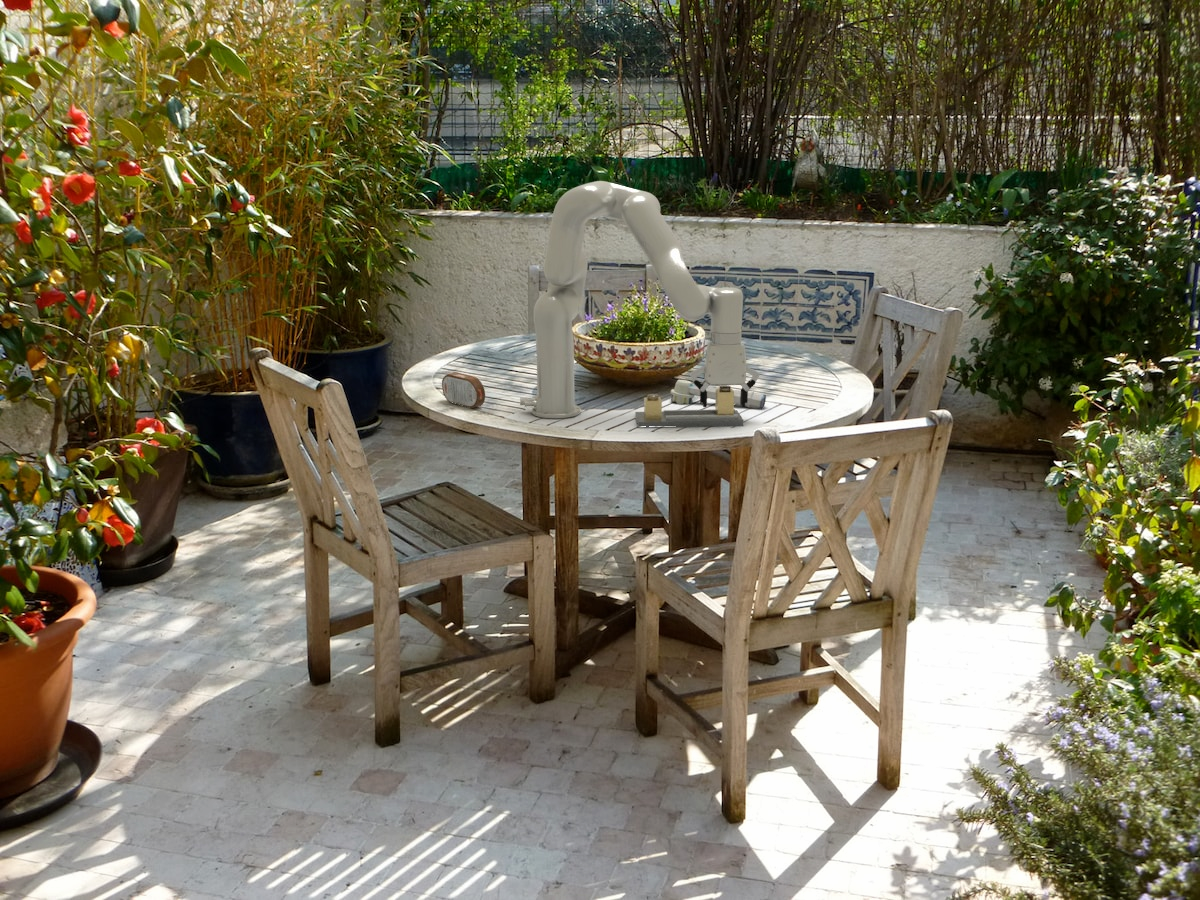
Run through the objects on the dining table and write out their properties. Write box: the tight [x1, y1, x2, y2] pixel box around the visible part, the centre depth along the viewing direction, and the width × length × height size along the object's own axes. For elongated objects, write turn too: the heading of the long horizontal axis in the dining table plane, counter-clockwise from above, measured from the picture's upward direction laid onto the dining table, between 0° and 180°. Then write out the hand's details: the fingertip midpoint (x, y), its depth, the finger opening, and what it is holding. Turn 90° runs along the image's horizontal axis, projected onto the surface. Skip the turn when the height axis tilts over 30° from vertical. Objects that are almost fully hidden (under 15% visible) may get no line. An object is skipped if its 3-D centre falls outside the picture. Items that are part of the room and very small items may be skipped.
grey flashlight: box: [670, 379, 767, 409], centre depth 312 cm, size 5×7×25 cm
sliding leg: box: [714, 385, 735, 415], centre depth 294 cm, size 4×4×7 cm
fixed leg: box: [643, 393, 663, 419], centre depth 294 cm, size 4×4×6 cm
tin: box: [441, 371, 486, 409], centre depth 312 cm, size 15×3×8 cm, turn 47°
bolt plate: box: [634, 408, 745, 428], centre depth 295 cm, size 26×10×2 cm, turn 93°
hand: (723, 405), depth 295 cm, fingers open, 9 cm apart
